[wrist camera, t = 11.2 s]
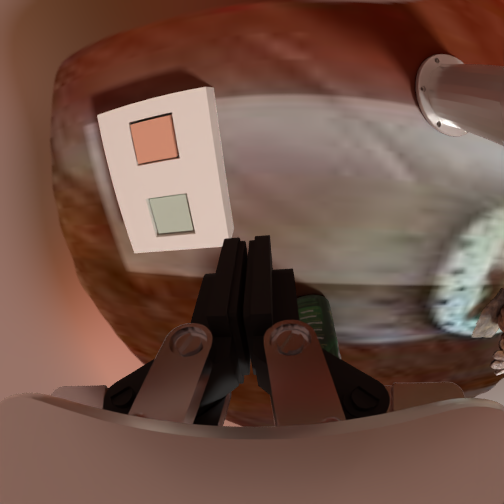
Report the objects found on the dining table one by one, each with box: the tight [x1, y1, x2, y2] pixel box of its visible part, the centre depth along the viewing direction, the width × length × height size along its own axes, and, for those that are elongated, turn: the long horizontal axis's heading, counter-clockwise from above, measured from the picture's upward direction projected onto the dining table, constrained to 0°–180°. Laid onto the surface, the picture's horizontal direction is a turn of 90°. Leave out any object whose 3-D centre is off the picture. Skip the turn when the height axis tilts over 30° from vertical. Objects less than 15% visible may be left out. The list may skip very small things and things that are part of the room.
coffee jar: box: [297, 295, 341, 359], centre depth 41 cm, size 10×8×19 cm
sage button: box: [149, 193, 194, 234], centre depth 36 cm, size 5×5×3 cm
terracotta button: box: [130, 114, 179, 164], centre depth 30 cm, size 5×5×3 cm
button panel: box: [97, 87, 234, 253], centre depth 33 cm, size 14×20×5 cm
